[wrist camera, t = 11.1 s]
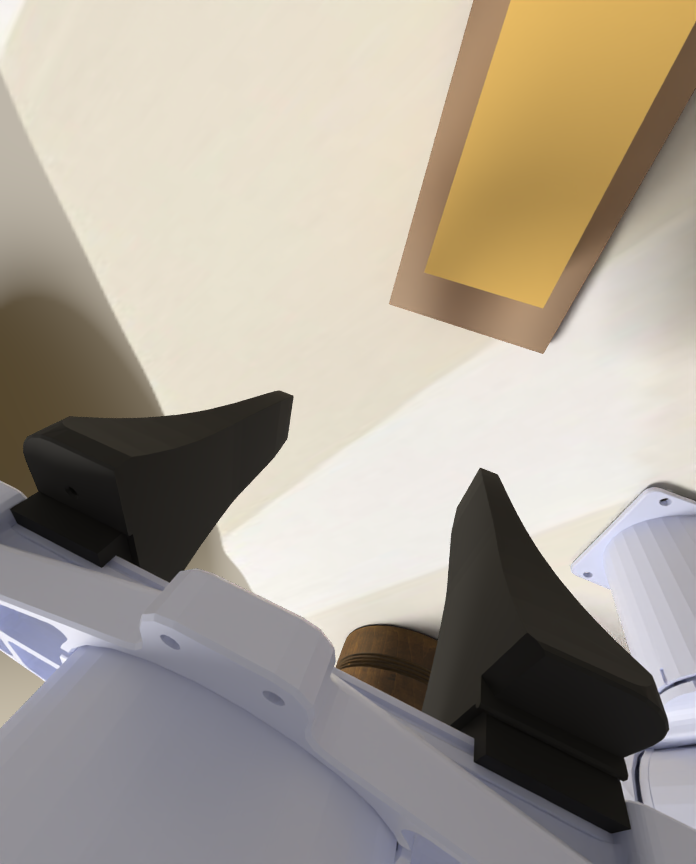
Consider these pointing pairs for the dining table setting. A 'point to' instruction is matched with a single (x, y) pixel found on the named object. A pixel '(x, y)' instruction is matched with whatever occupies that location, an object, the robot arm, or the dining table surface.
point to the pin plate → (467, 82)
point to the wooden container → (390, 661)
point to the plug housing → (551, 136)
